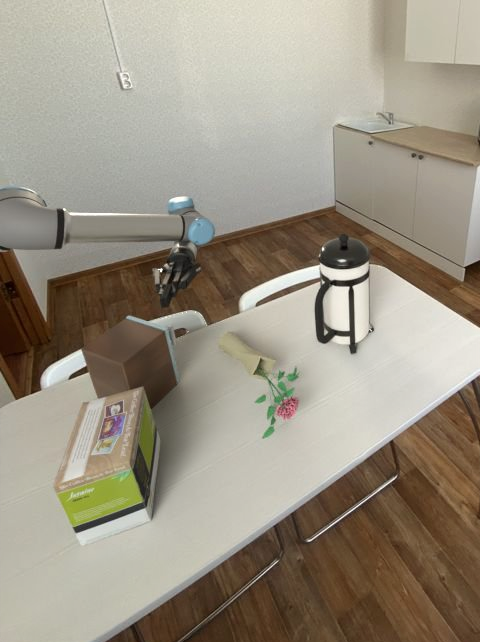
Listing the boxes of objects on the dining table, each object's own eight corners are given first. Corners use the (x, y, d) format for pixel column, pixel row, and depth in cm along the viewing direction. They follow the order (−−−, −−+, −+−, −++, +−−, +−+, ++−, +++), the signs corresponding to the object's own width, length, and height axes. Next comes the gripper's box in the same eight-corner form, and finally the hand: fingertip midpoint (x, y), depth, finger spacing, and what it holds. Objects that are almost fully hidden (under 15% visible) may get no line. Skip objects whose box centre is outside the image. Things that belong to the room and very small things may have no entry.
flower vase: (247, 369, 101) (327, 433, 75) (200, 381, 93) (271, 458, 67) (250, 324, 101) (331, 373, 75) (204, 333, 93) (275, 390, 67)
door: (149, 360, 94) (136, 310, 89) (186, 374, 90) (174, 322, 85) (139, 368, 92) (125, 317, 87) (177, 382, 88) (164, 330, 82)
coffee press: (312, 322, 107) (305, 225, 97) (368, 314, 110) (367, 219, 100) (318, 368, 92) (310, 257, 81) (383, 357, 94) (383, 249, 84)
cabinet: (139, 370, 92) (124, 318, 87) (177, 384, 88) (164, 331, 82) (99, 403, 83) (80, 348, 78) (139, 420, 79) (122, 363, 74)
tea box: (102, 459, 71) (81, 400, 66) (162, 441, 75) (146, 383, 69) (79, 550, 58) (50, 485, 53) (152, 523, 61) (132, 459, 56)
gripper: (206, 266, 118) (194, 311, 97) (161, 271, 116) (138, 319, 94) (203, 244, 116) (189, 286, 94) (156, 249, 113) (131, 294, 92)
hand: (164, 303), depth 94 cm, fingers closed
